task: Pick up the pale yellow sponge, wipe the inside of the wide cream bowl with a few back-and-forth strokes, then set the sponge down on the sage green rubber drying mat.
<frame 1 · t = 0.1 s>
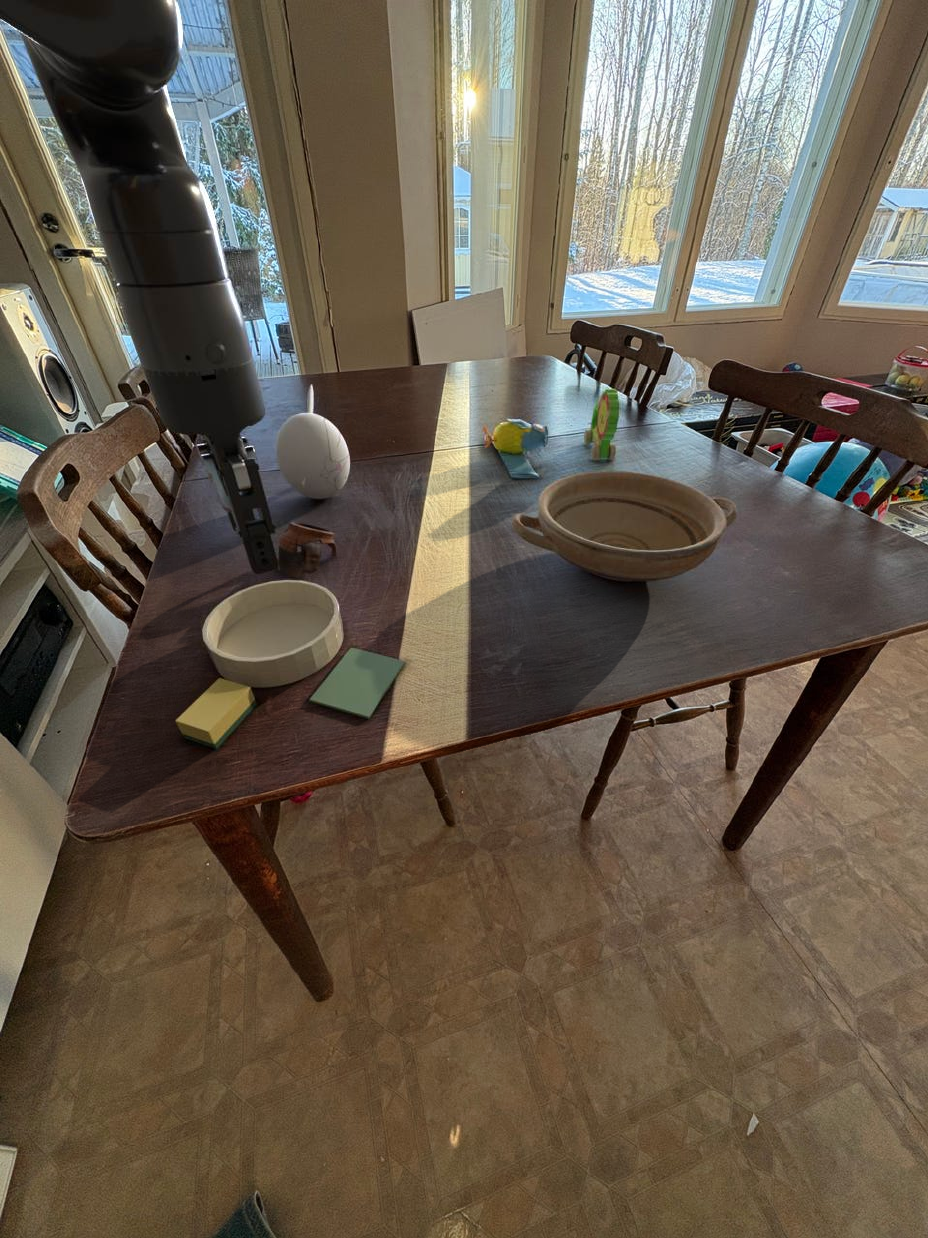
hand: (255, 548, 47), 22 cm above the table, tool pointing down, fingers open, 8 cm apart
sponge: (222, 720, 59), on the table
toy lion: (598, 454, 124), on the table
spiked white egg: (325, 490, 109), on the table
ceramic bowl: (616, 561, 86), on the table
wash bowl: (280, 642, 70), on the table
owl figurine: (514, 456, 124), on the table
drying mat: (359, 681, 64), on the table
pottery mug: (310, 567, 85), on the table
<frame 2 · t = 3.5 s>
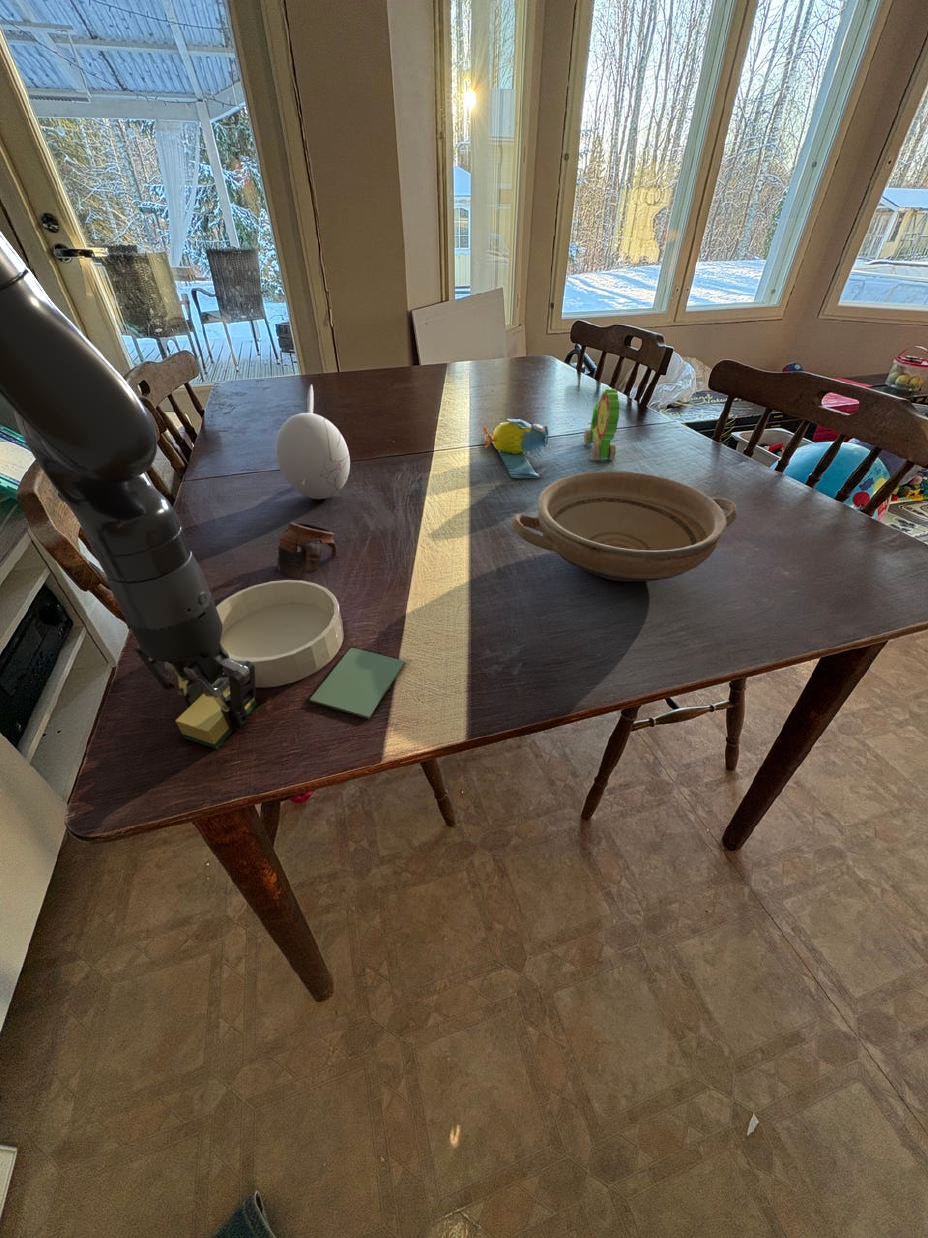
hand: (221, 718, 59), 0 cm above the table, tool pointing down, fingers closed on sponge, 4 cm apart
sponge: (221, 720, 59), on the table, touching gripper
everything else where it was.
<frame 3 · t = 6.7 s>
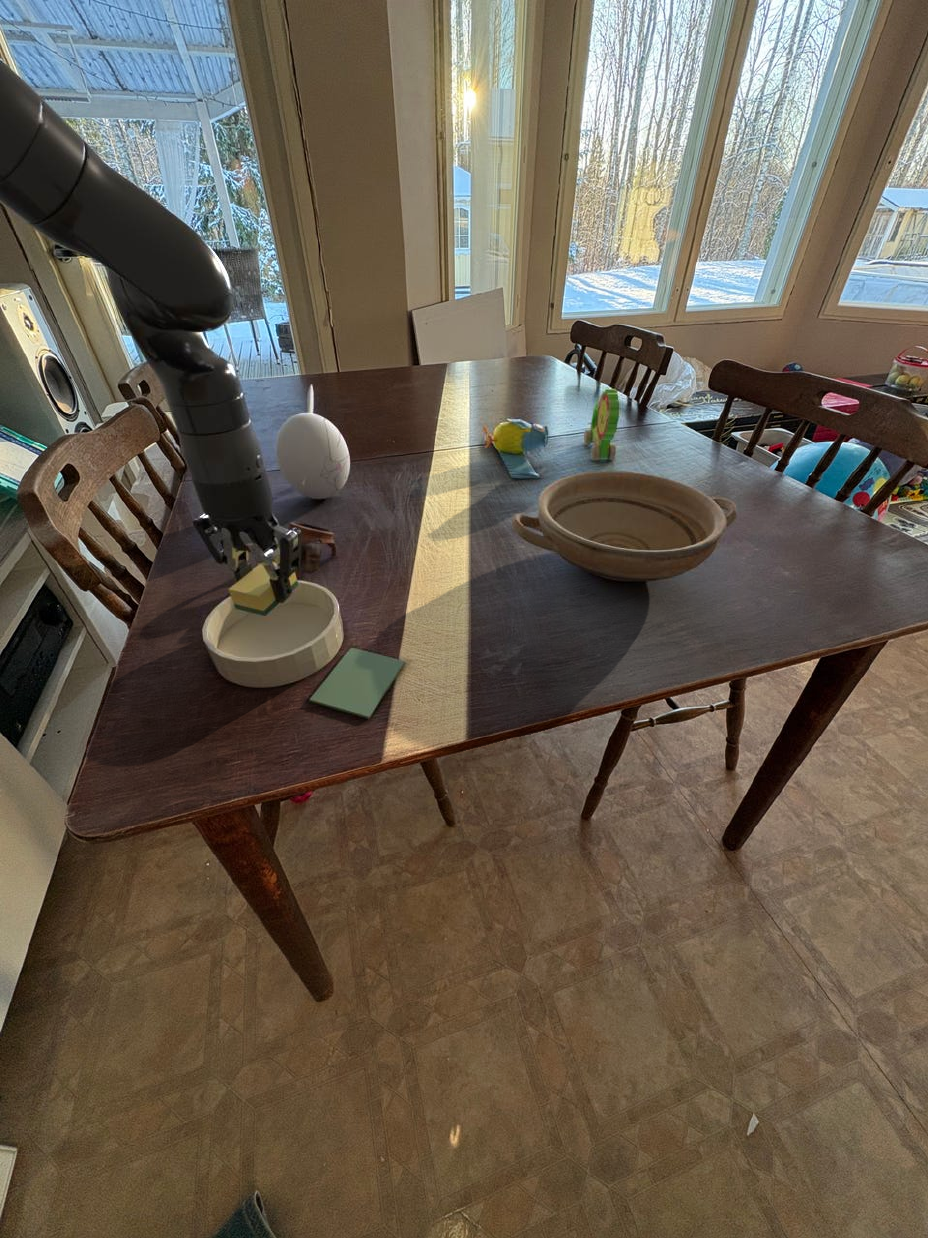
hand: (267, 594, 65), 8 cm above the table, tool pointing down, fingers closed on sponge, 4 cm apart
sponge: (267, 596, 65), point 8 cm above the table, touching gripper
everything else where it was.
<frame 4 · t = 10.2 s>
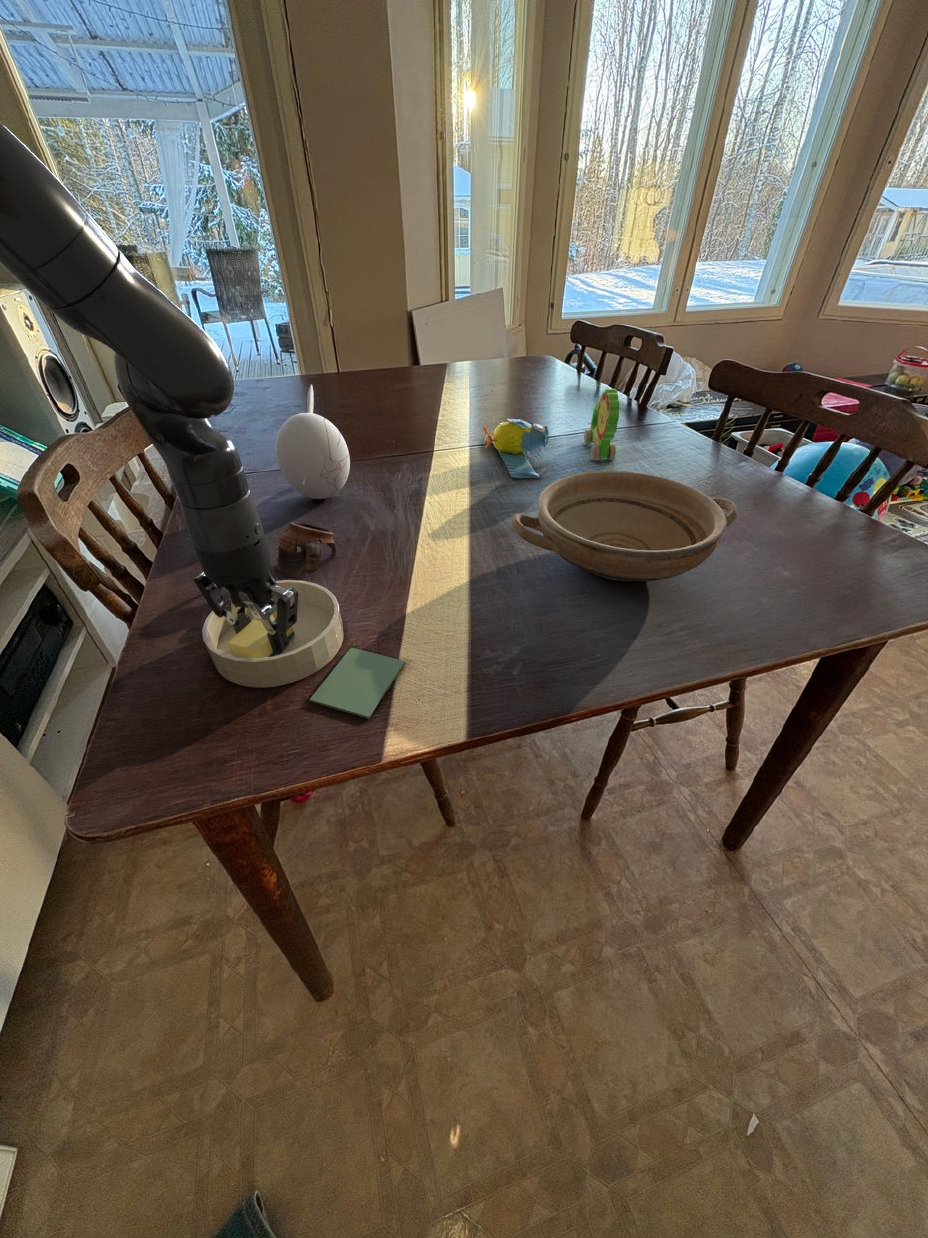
hand: (264, 645, 68), 1 cm above the table, tool pointing down, fingers closed on sponge, 4 cm apart
sponge: (265, 647, 68), point 1 cm above the table, touching gripper
everything else where it was.
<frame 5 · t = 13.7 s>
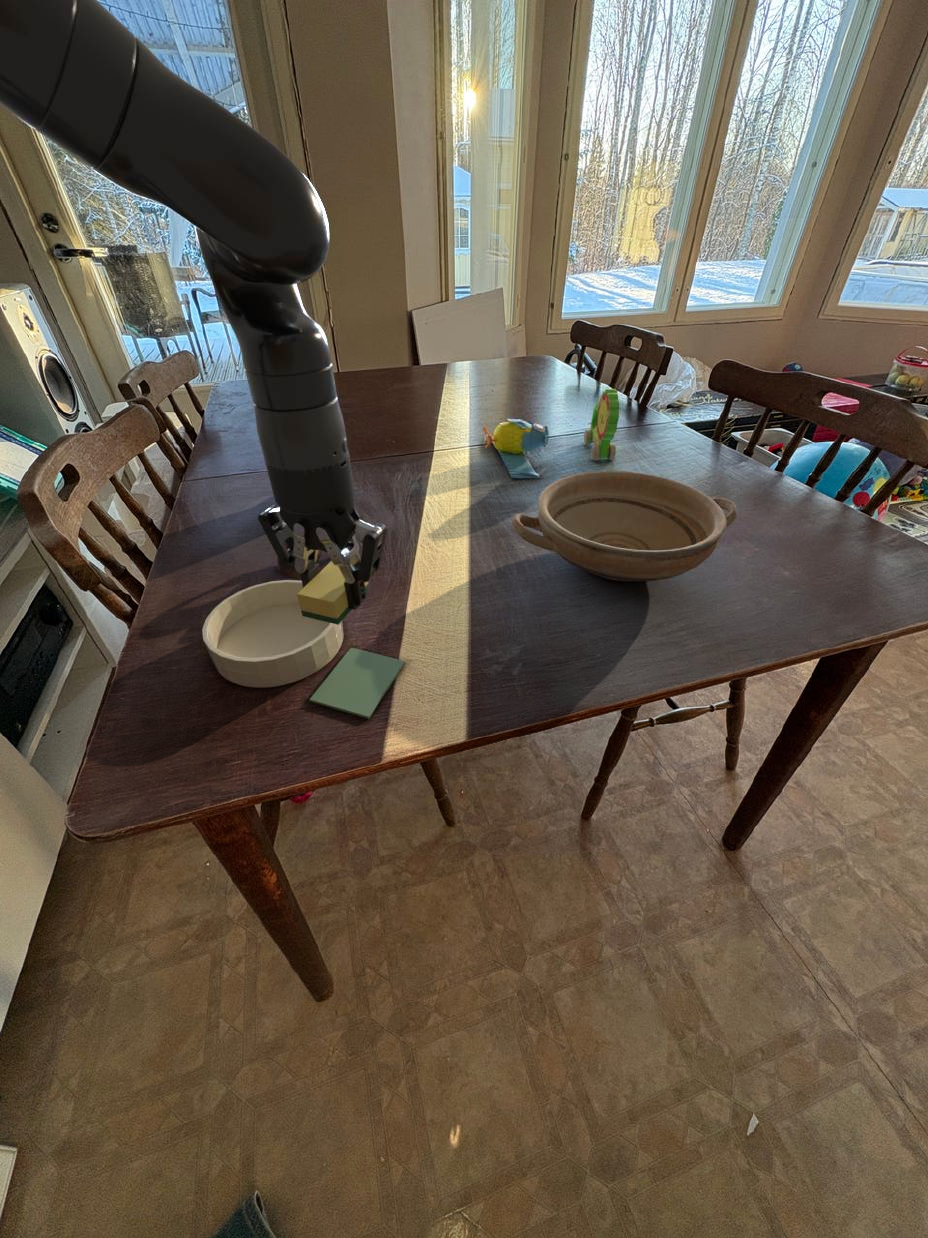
hand: (336, 600, 57), 12 cm above the table, tool pointing down, fingers closed on sponge, 4 cm apart
sponge: (337, 602, 58), point 12 cm above the table, touching gripper
everything else where it was.
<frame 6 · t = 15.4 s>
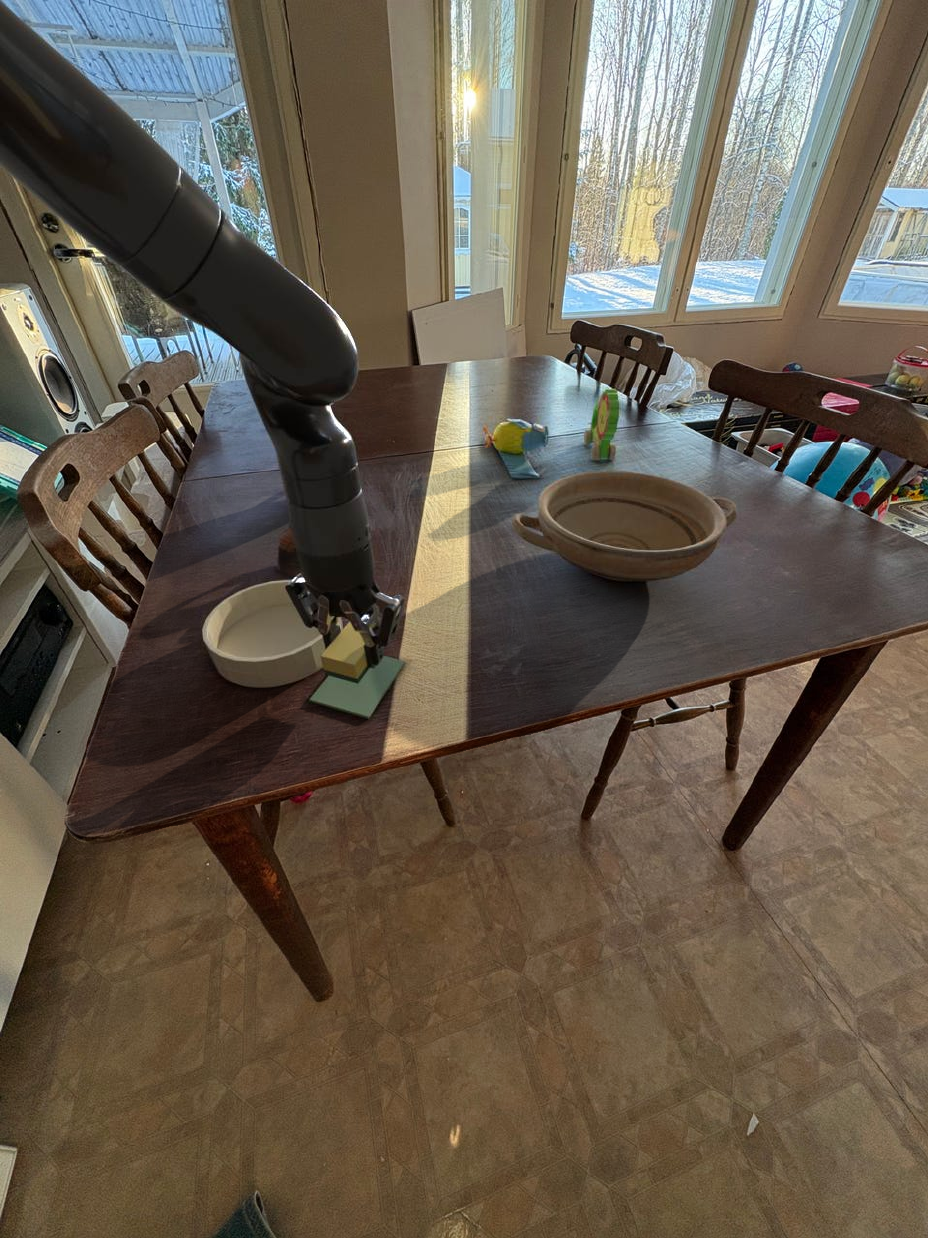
hand: (355, 658, 62), 4 cm above the table, tool pointing down, fingers closed on sponge, 4 cm apart
sponge: (356, 659, 62), point 4 cm above the table, touching gripper
everything else where it was.
when the fingers open (1 cm above the table, at t = 16.8 s): sponge stays where it is, resting on drying mat.
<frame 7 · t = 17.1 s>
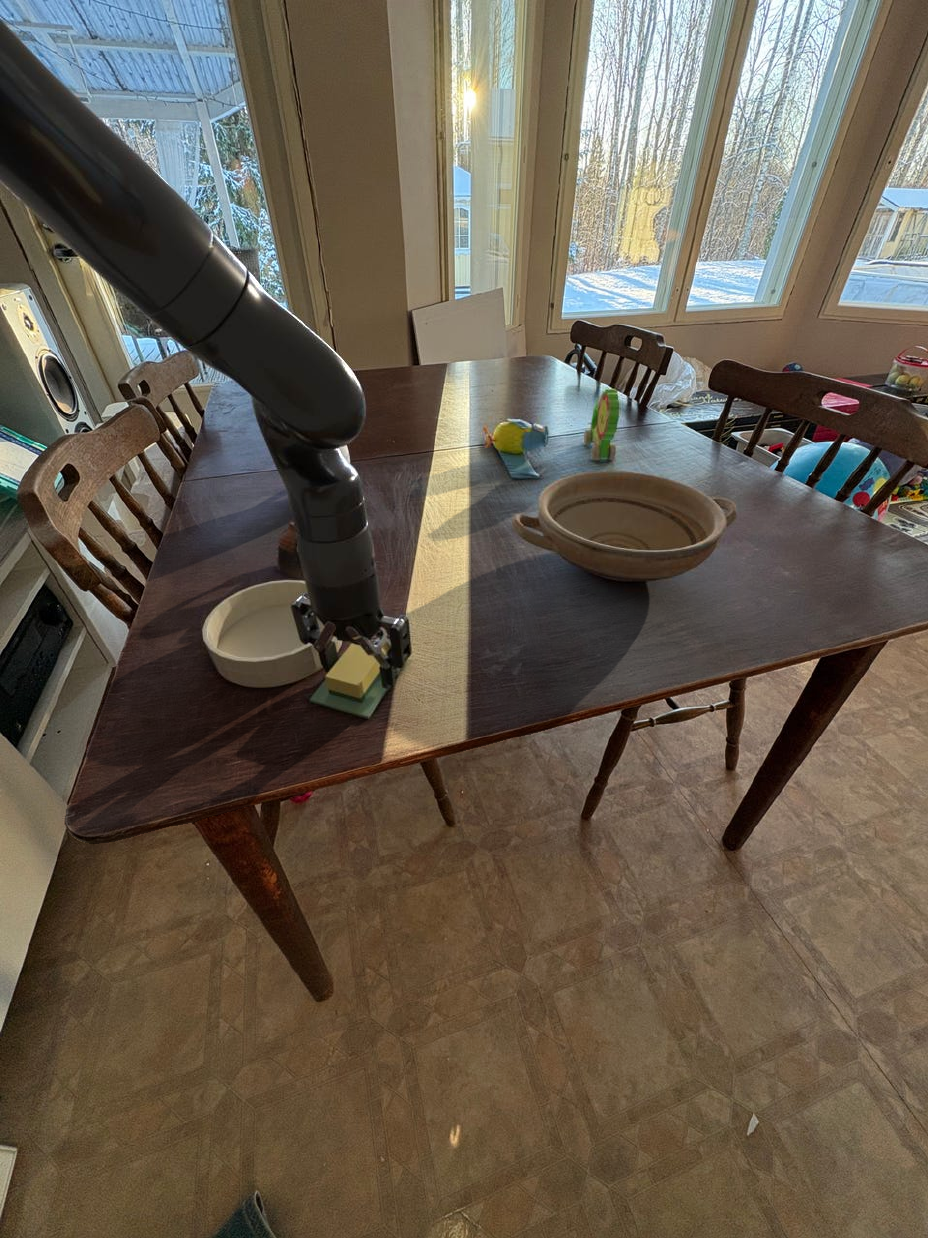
hand: (360, 676, 63), 1 cm above the table, tool pointing down, fingers open, 7 cm apart
sponge: (359, 679, 64), resting on drying mat
everything else where it was.
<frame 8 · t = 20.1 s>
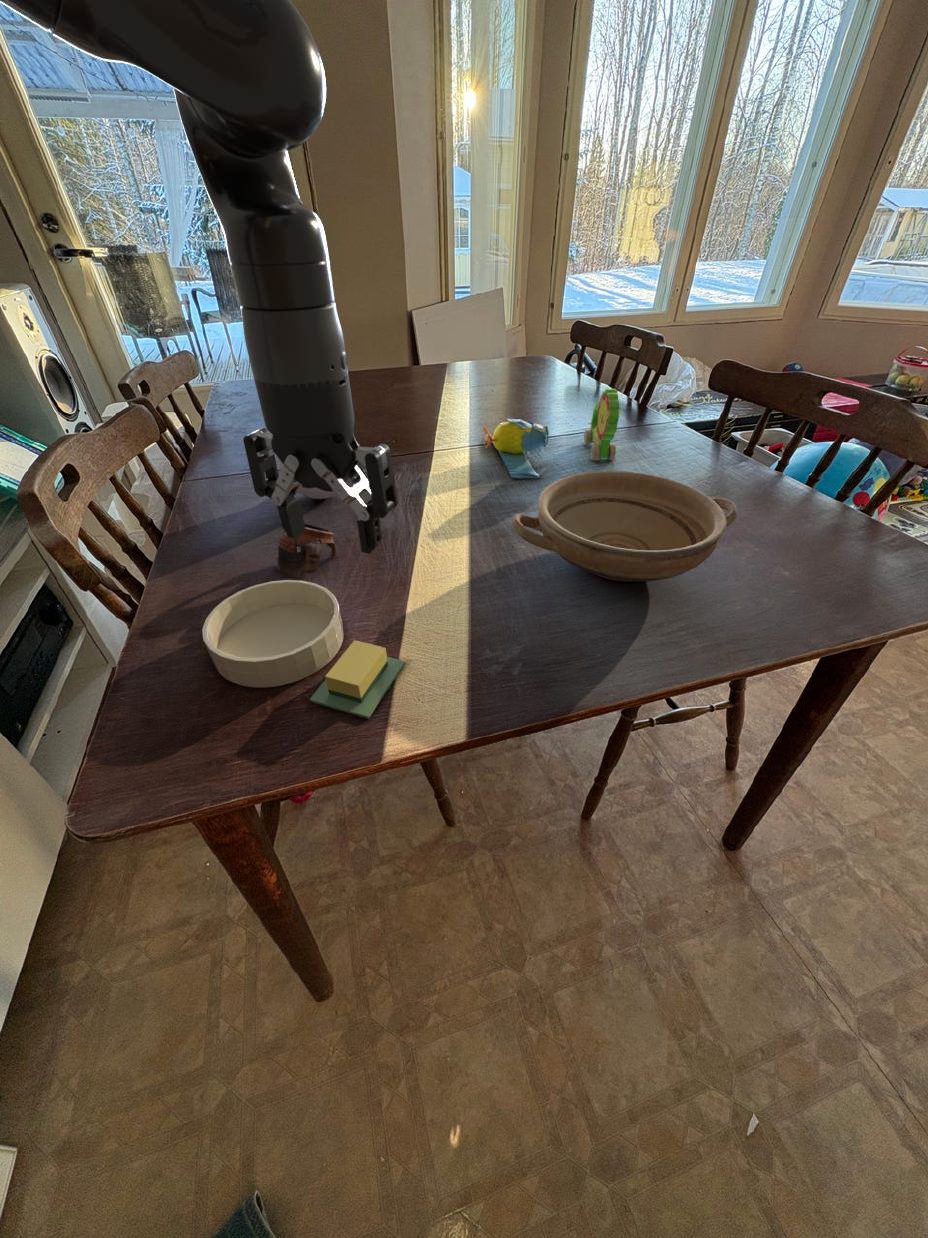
hand: (333, 542, 52), 20 cm above the table, tool pointing down, fingers open, 8 cm apart
nothing on the table moved.
at the end: sponge inside the target area (0.1 cm from its centre), resting on drying mat; the gripper is holding nothing; sponge tilted 0° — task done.
